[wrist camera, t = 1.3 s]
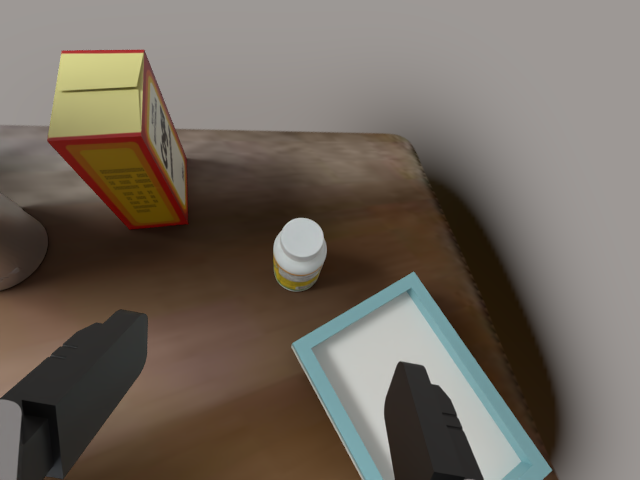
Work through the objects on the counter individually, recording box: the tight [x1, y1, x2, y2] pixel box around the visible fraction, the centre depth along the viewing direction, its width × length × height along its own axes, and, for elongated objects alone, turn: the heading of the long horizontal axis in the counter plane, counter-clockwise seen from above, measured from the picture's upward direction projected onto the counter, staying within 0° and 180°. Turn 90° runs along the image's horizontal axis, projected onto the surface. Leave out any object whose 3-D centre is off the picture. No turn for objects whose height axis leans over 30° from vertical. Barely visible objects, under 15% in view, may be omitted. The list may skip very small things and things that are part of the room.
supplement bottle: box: [273, 218, 327, 292], centre depth 36 cm, size 5×5×10 cm
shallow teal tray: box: [291, 272, 552, 480], centre depth 33 cm, size 20×14×6 cm
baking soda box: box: [47, 50, 188, 230], centre depth 35 cm, size 10×6×16 cm
